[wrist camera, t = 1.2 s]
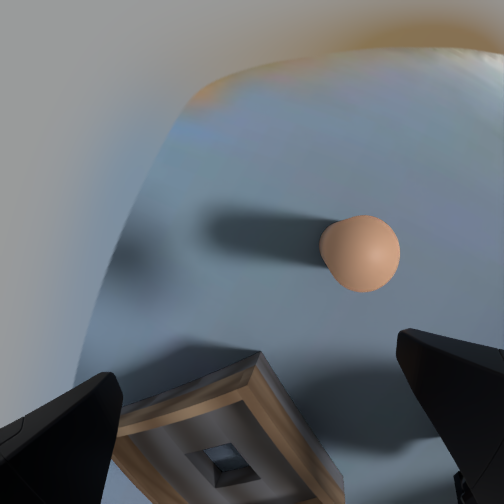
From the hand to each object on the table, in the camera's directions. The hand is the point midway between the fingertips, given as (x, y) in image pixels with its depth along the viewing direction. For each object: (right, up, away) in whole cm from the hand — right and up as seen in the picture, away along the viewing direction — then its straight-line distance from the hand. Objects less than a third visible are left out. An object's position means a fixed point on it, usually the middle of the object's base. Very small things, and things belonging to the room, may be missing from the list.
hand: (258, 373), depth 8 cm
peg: (+6, +4, +12) cm, 14 cm away
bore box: (-2, -15, +15) cm, 21 cm away
